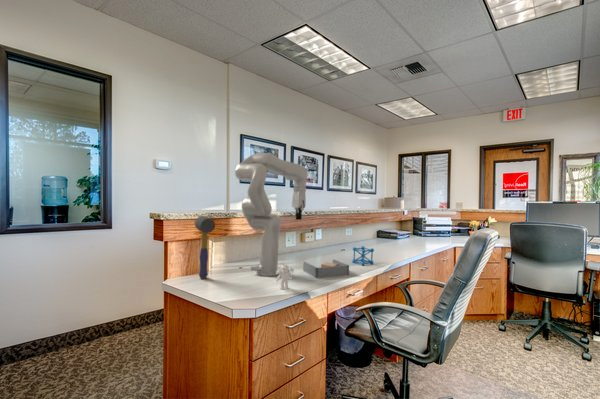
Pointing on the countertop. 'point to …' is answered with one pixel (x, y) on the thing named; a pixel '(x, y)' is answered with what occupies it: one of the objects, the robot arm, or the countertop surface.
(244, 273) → the countertop surface
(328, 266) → the terracotta tile
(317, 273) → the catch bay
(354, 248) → the molecular structure
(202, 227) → the rubber mallet
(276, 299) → the countertop surface
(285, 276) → the flower shoulder figurine
